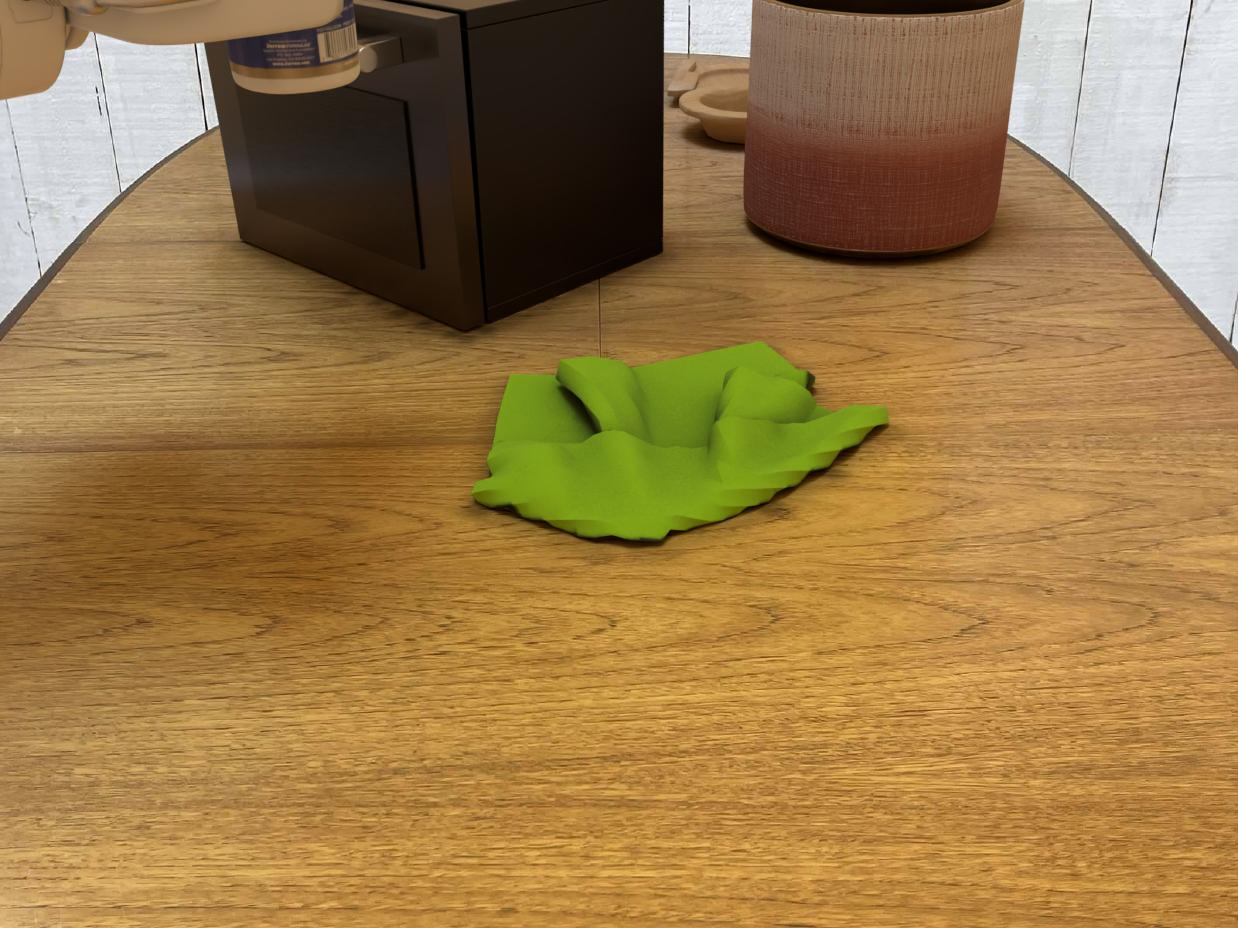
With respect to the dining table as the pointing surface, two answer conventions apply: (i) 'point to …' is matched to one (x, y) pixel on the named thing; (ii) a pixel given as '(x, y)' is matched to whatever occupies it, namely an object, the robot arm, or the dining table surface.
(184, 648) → the dining table surface
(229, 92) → the oven door
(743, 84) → the tableware set
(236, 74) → the pill bottle
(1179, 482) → the dining table surface
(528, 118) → the oven
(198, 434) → the dining table surface
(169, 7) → the robot arm
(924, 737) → the dining table surface
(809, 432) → the cloth
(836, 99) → the planter
